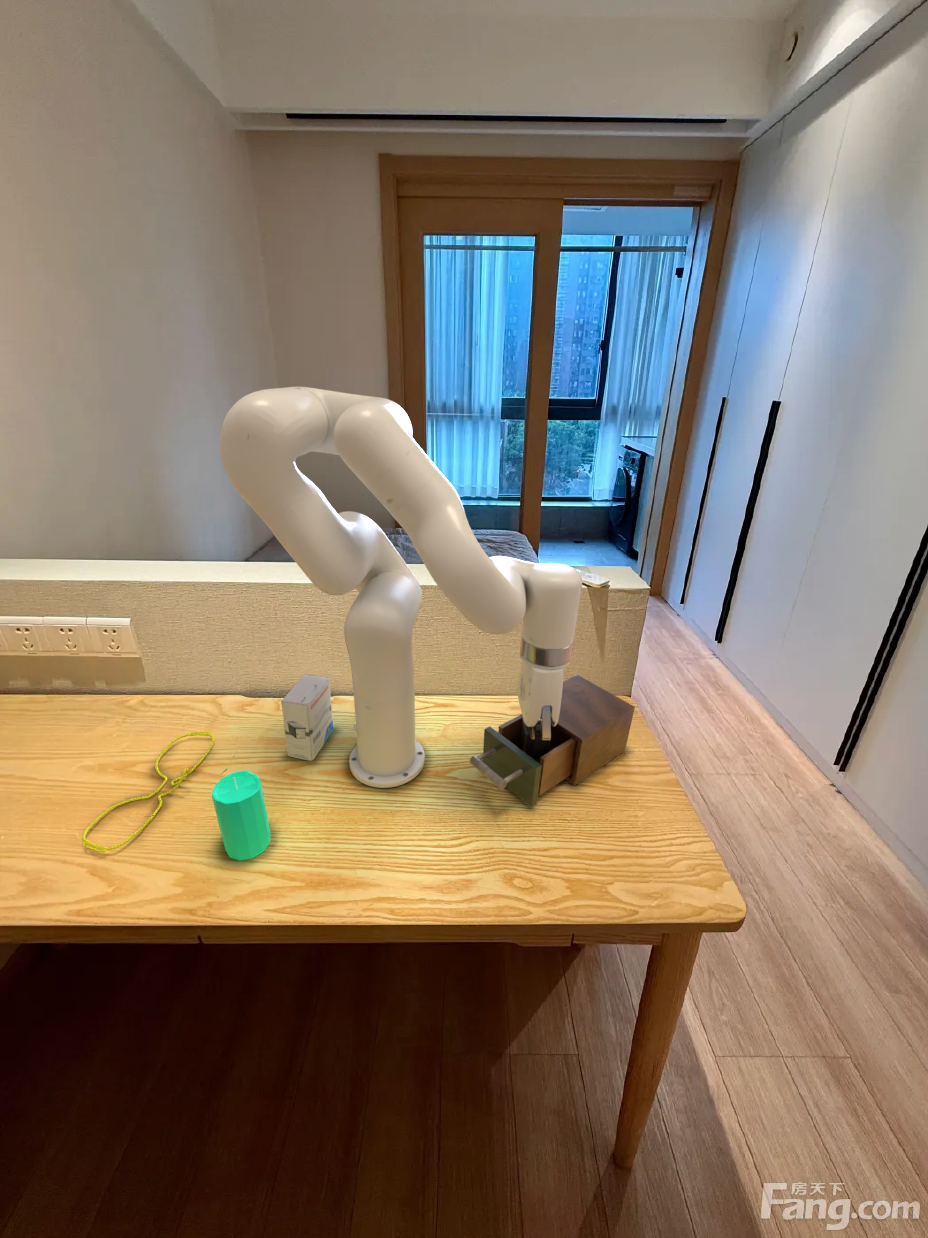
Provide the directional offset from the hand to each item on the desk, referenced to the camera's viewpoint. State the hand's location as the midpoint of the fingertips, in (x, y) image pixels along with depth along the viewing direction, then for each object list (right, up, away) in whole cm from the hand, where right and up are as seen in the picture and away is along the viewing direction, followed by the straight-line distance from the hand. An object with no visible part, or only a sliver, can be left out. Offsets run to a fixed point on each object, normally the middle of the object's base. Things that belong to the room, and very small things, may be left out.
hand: (533, 745), depth 83 cm
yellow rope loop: (-58, -6, -3) cm, 59 cm away
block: (0, 0, 0) cm, 0 cm away
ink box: (-38, -2, +8) cm, 39 cm away
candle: (-42, -11, -11) cm, 44 cm away
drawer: (-2, -5, +1) cm, 6 cm away
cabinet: (+8, -3, +9) cm, 12 cm away
